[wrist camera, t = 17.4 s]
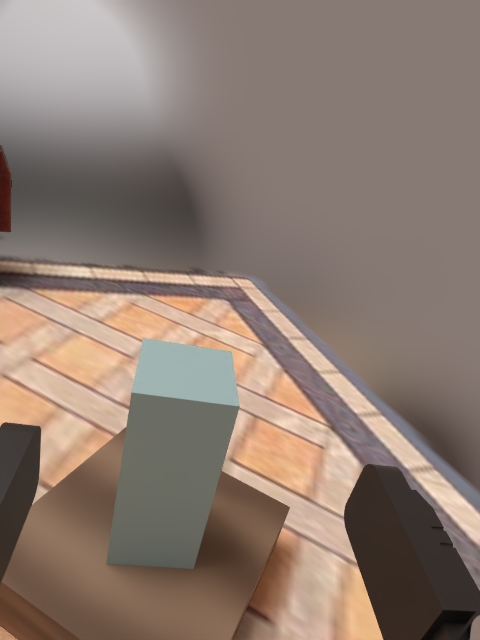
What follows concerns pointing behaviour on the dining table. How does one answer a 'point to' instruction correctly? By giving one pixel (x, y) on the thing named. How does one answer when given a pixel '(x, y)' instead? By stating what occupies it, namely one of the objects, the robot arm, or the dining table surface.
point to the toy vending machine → (5, 193)
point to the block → (172, 453)
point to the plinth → (129, 580)
